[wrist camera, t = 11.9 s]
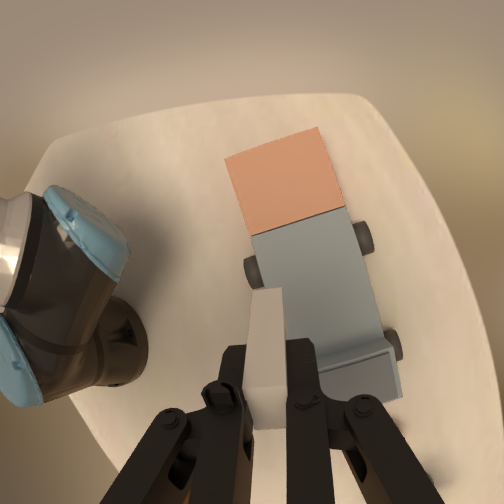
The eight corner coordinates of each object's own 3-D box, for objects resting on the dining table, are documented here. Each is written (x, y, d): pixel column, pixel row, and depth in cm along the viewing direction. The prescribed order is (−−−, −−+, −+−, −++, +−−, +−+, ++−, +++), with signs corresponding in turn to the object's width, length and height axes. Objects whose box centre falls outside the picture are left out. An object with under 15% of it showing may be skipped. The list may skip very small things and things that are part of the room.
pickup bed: (400, 368, 34) (419, 393, 25) (289, 399, 38) (277, 431, 28) (356, 209, 38) (365, 188, 29) (245, 245, 41) (221, 235, 32)
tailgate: (345, 206, 34) (317, 126, 34) (250, 236, 37) (224, 159, 36) (343, 206, 36) (316, 130, 35) (252, 235, 39) (227, 161, 38)
